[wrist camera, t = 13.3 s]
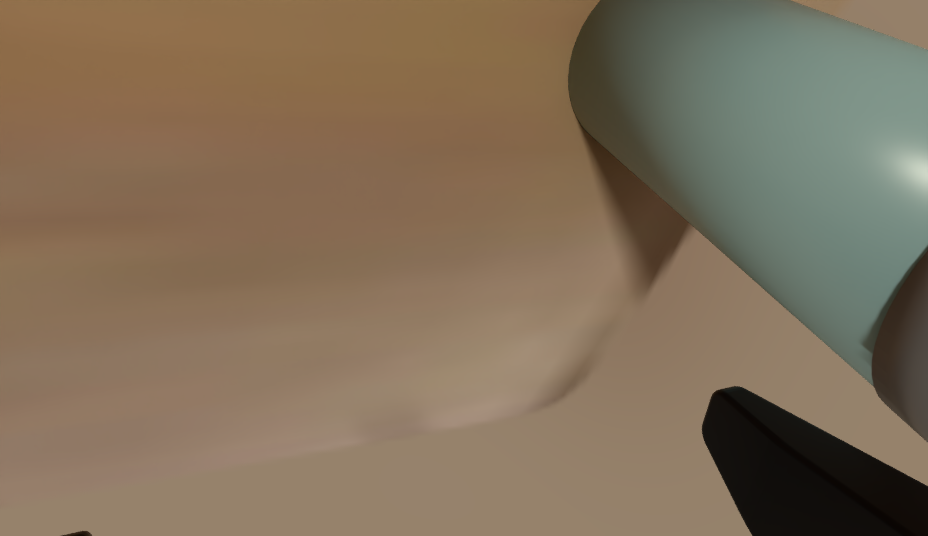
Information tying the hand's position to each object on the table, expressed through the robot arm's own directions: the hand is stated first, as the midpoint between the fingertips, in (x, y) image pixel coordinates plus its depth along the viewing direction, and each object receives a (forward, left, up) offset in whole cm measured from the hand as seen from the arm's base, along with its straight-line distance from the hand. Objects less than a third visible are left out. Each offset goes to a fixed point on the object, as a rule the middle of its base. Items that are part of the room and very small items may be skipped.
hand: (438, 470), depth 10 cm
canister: (+11, +1, -13) cm, 17 cm away
